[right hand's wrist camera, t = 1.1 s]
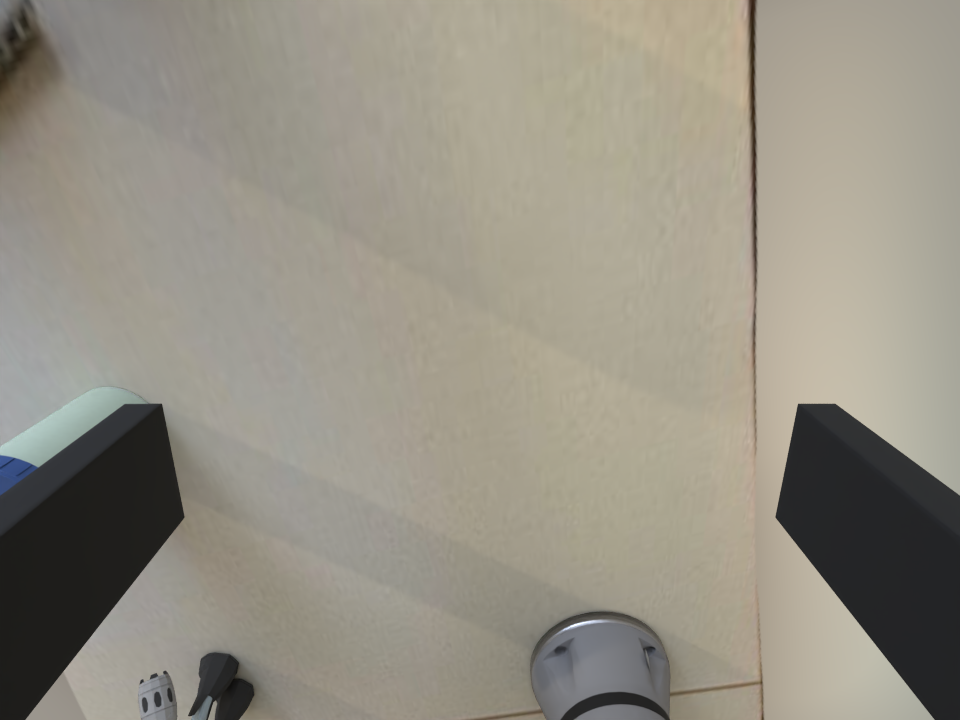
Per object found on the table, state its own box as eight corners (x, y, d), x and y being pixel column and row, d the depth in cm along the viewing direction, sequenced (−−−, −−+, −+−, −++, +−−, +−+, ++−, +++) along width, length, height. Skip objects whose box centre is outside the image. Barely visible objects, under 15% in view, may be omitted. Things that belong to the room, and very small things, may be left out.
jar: (167, 398, 56) (58, 488, 42) (160, 476, 59) (55, 586, 45) (72, 376, 56) (-73, 460, 41) (69, 456, 59) (-67, 561, 44)
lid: (82, 471, 43) (63, 486, 41) (77, 579, 47) (60, 598, 45) (-62, 439, 42) (-88, 454, 40) (-56, 551, 46) (-80, 570, 44)
